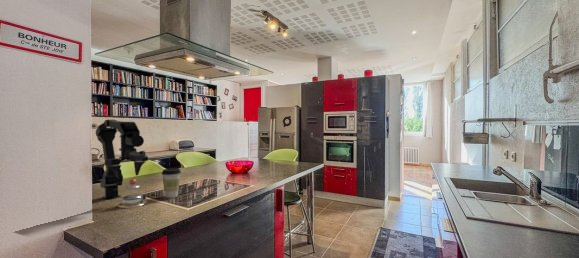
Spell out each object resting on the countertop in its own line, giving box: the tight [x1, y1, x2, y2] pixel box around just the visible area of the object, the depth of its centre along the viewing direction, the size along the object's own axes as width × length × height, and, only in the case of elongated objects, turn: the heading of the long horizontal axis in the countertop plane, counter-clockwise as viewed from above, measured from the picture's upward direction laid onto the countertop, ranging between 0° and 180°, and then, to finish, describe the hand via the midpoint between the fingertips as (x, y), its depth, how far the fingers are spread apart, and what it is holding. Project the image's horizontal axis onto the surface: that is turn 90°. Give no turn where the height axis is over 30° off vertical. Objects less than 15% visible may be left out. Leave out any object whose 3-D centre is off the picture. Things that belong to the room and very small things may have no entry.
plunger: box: [125, 178, 141, 190], centre depth 124 cm, size 6×6×4 cm
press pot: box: [118, 193, 148, 209], centre depth 124 cm, size 12×12×4 cm
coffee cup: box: [161, 167, 182, 199], centre depth 138 cm, size 10×10×15 cm
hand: (128, 177), depth 125 cm, fingers open, 9 cm apart
